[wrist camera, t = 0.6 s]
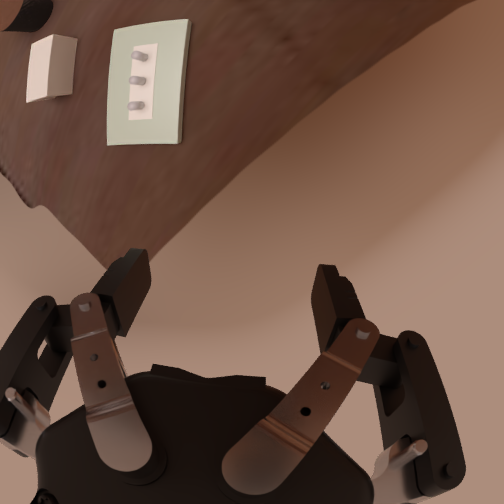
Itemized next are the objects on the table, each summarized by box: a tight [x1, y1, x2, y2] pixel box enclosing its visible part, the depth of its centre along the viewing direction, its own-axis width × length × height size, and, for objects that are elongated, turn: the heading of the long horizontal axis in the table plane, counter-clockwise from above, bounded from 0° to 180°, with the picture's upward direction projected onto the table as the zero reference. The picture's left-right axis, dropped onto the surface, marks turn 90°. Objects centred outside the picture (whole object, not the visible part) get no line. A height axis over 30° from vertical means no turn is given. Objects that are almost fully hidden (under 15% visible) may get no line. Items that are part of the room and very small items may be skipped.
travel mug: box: [0, 0, 53, 32], centre depth 12 cm, size 8×8×20 cm
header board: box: [107, 19, 192, 145], centre depth 28 cm, size 18×11×5 cm, turn 175°
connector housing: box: [26, 34, 78, 103], centre depth 25 cm, size 10×5×6 cm, turn 175°
